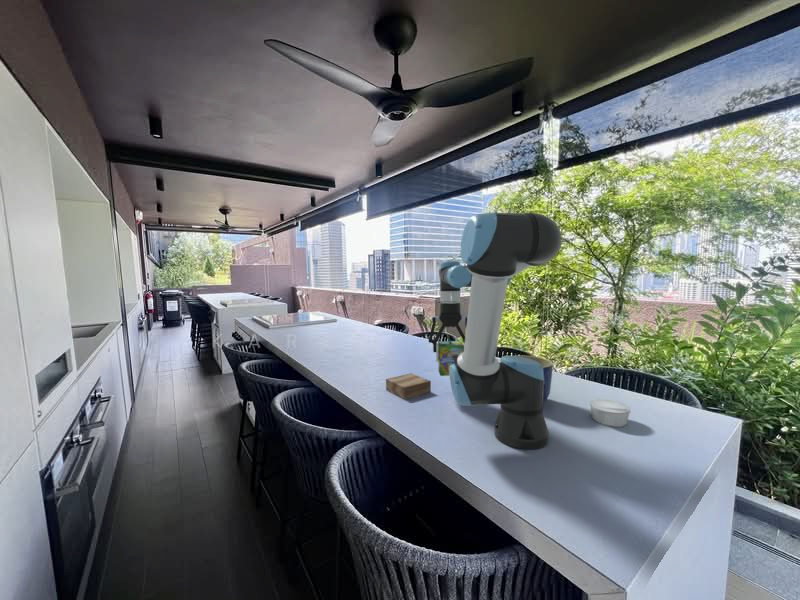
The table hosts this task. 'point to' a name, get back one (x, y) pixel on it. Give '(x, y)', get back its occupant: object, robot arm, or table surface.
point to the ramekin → (609, 412)
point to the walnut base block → (408, 386)
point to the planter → (547, 371)
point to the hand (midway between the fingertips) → (450, 360)
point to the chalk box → (448, 355)
